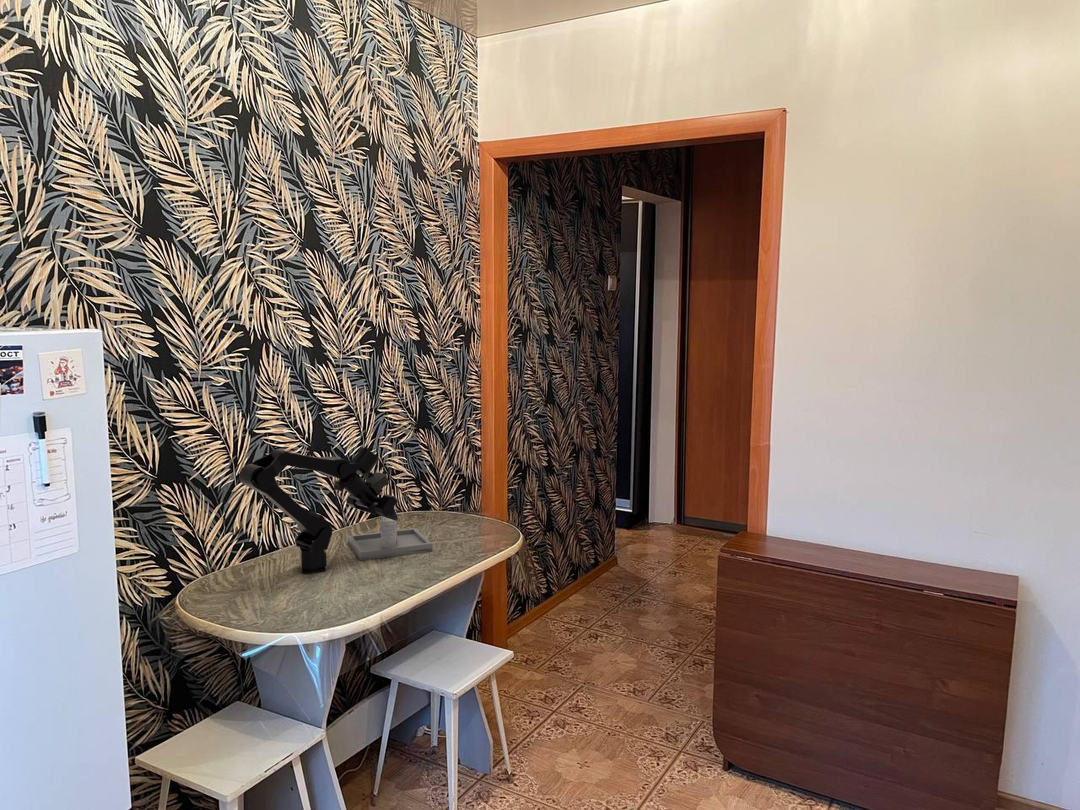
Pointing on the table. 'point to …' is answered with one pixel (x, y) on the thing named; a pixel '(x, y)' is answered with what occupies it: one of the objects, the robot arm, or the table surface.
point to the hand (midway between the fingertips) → (387, 516)
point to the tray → (406, 544)
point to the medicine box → (388, 533)
